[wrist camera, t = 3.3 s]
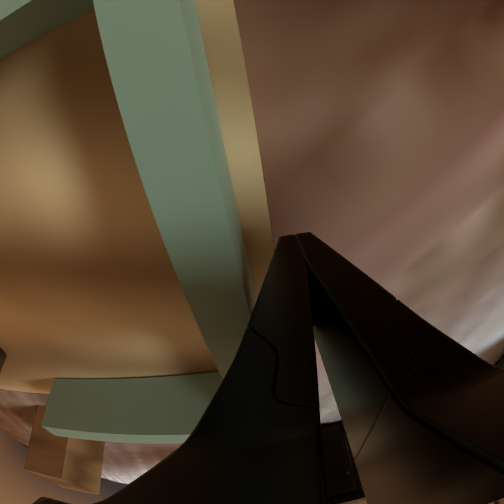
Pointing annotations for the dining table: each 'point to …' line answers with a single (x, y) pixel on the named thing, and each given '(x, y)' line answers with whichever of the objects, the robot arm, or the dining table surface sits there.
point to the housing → (159, 207)
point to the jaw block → (64, 458)
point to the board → (103, 214)
